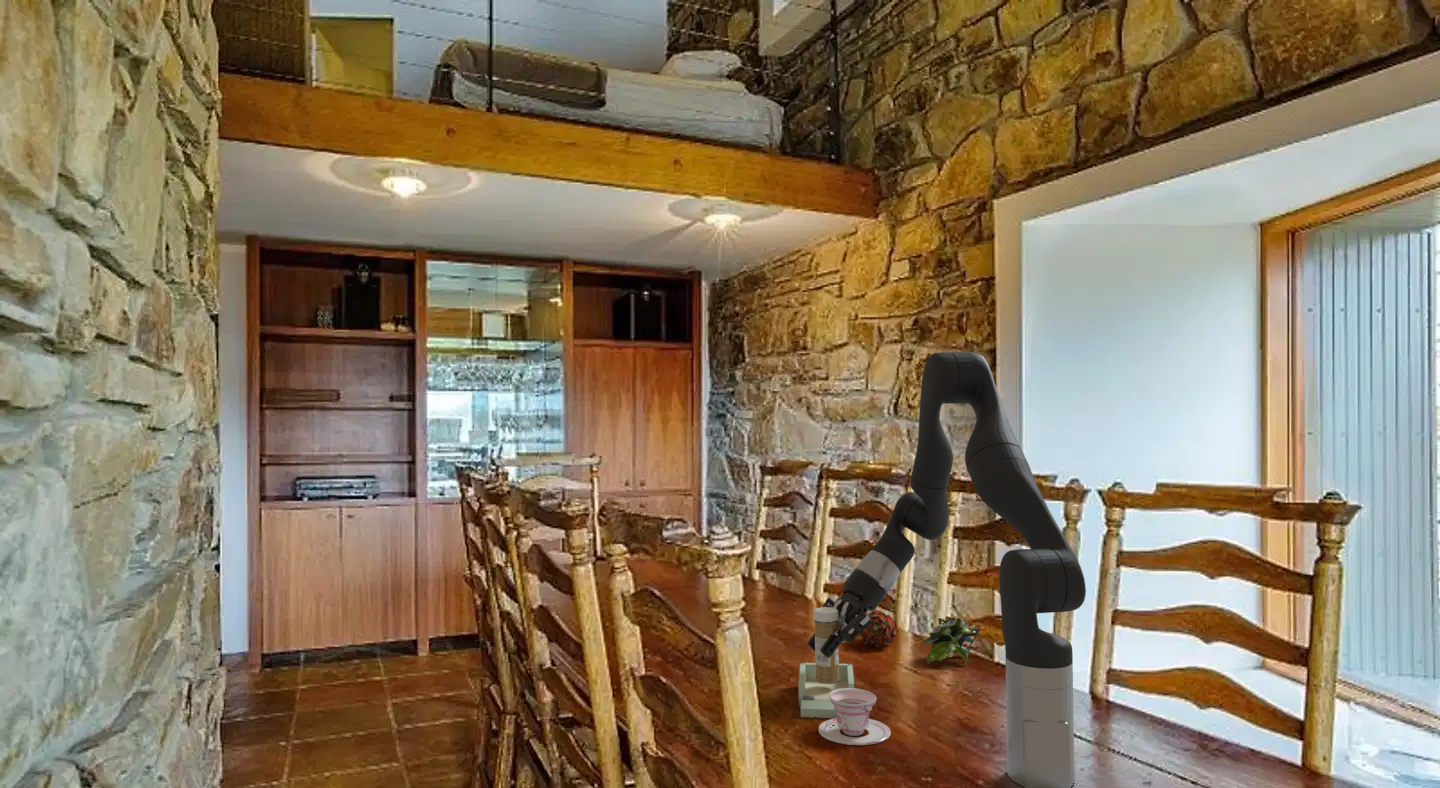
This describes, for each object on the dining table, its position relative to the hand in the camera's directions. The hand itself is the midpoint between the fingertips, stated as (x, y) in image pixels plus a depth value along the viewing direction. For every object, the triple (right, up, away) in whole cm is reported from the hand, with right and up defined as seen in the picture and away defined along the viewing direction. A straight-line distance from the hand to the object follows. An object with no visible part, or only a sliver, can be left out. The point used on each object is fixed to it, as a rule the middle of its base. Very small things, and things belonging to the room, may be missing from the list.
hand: (817, 650), depth 163 cm
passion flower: (+31, -9, +22) cm, 39 cm away
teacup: (+4, -9, -17) cm, 20 cm away
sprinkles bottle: (+2, -6, +1) cm, 6 cm away
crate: (+1, -9, -2) cm, 9 cm away
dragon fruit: (+17, -9, +36) cm, 41 cm away
